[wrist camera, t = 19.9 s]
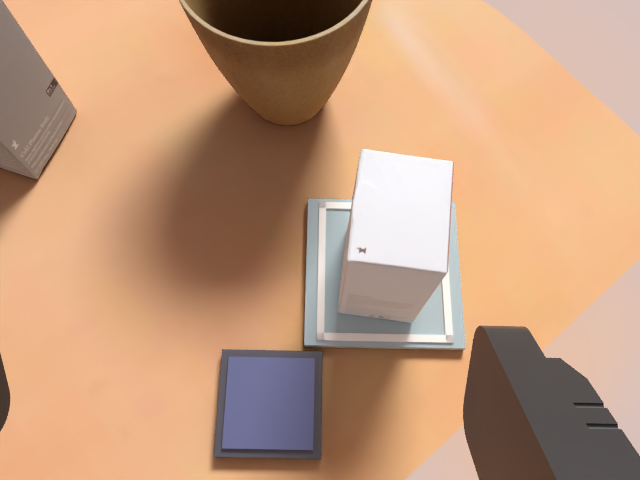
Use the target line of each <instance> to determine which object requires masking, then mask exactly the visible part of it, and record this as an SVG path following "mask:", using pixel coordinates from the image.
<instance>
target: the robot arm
mask: <svg viewBox="0 0 640 480" xmlns="http://www.w3.org/2000/svg"><path fill="white" fill-rule="evenodd" d="M9 406H10V391H9V387H8V383H7V378H6V374H5V370H4V366H3V362H2V358H1V354H0V431H1V429H2V428H3V426H4V424H5V421H6V419H7V416H8V412H9ZM463 419H464V429H465V435H466V439H467V443H468V446H469V449H470V452H471V455H472V458H473V462H474V465H475V468H476V471H477V474H478V477H479V480H640V456H639V454H638V453H637V452H636V450H635V449H634V447H633V446H632V444H631V443H630V441H629V440H628V438H627V437H626V436H625V434H624V432H623V431H622V430H621V429H618V426H617V425H618V424H617V422H616V421H615V419H614V418H613V416H612V415H611V413H610V412H609V410H608V409H607V408H604V406H603V402H602V400H601V399H600V397H599V396H598V394H597V393H596V391H595V390H594V388H593V387H592V385H591V384H590V382H589V381H588V380H587V378H585V377H584V376H583V375H581V374H580V373H579V372H577V371H576V370H575V369H574V368H572V367H571V366H570V365H568V364H567V363H565V362H564V361H563V360H562V359H561V358H546V357H545V356H544V354H543V352H542V351H541V349H540V347H539V346H538V344H537V343H536V341H535V339H534V338H533V336H532V334H531V333H530V331H529V330H528V329H527V328H526V327H514V326H479V327H477V329H476V331H475V334H474V339H473V345H472V351H471V358H470V364H469V371H468V377H467V384H466V390H465V397H464V405H463Z"/></svg>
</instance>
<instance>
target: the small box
mask: <svg viewBox="0 0 640 480" xmlns="http://www.w3.org/2000/svg"><path fill="white" fill-rule="evenodd" d="M453 166H454V162H452V161H446V160H439V159H431V158H423V157H415V156H408V155H401V154H394V153H387V152H381V151H374V150H367V149H362V150H361V153H360V157H359V163H358V169H357V175H356V181H355V187H354V192H353V198H352V204H351V210H350V217H349V222H348V227H347V234H346V241H345V248H344V256H343V264H342V272H341V280H340V289H339V298H338V309H337V312H338V313H342V314H350V315H357V316H365V317H373V318H380V319H388V320H394V321H401V322H408V323H412V322H413V321H414V320H415V318H416V317H417V315H418V314H419V312H420V311H421V309H422V308H423V307H424V305H425V304H426V302H427V301H428V300H429V298H430V297H431V295H432V294H433V292H434V291H435V290H436V288H437V287H438V285H439V284H440V282H441V281H442V279H443V278H444V277H445V275H446V274H447V273H448V260H449V244H450V225H451V207H452V186H453Z"/></svg>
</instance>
